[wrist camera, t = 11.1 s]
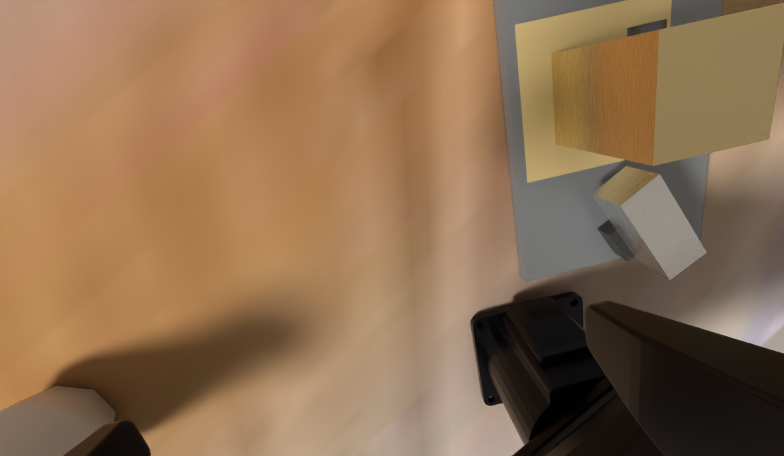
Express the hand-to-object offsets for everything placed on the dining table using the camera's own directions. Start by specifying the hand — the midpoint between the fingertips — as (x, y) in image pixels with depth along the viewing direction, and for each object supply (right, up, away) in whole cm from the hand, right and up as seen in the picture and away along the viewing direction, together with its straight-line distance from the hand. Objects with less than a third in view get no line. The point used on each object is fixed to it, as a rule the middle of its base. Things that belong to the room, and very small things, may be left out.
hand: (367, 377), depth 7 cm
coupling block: (+10, +9, +10) cm, 17 cm away
